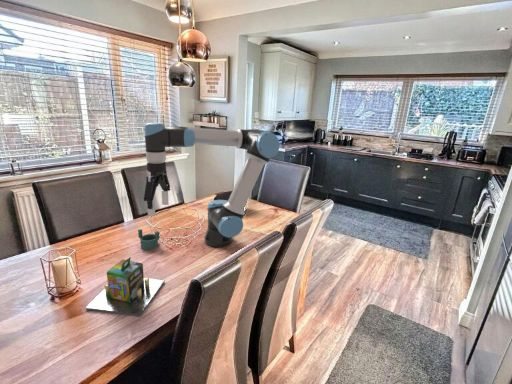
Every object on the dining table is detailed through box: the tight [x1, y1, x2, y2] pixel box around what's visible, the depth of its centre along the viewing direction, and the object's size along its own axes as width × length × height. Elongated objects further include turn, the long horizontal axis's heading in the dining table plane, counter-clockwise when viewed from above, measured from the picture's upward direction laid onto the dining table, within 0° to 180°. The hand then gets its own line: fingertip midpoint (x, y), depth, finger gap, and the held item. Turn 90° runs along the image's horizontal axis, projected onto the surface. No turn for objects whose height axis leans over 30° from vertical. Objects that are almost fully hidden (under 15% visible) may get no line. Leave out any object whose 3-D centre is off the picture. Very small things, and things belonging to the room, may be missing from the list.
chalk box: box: [106, 256, 145, 303], centre depth 104 cm, size 9×9×15 cm
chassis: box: [85, 277, 165, 317], centre depth 106 cm, size 20×20×6 cm
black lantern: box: [213, 189, 233, 201], centre depth 201 cm, size 15×15×25 cm
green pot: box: [137, 229, 160, 251], centre depth 142 cm, size 9×9×9 cm
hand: (158, 209), depth 121 cm, fingers open, 13 cm apart
